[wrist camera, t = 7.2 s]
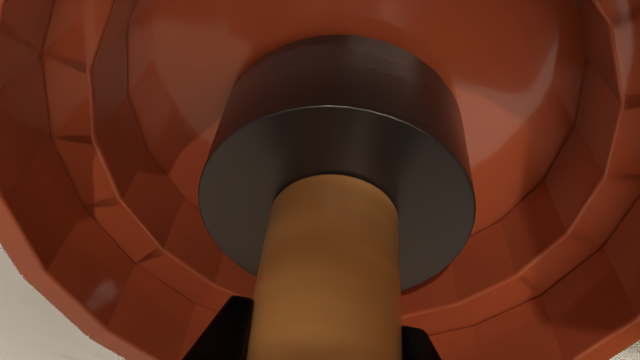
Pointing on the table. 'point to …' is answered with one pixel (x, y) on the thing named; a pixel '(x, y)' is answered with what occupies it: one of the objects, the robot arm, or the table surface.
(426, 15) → the bowl
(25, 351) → the table surface
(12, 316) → the table surface
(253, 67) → the coffee tamper
